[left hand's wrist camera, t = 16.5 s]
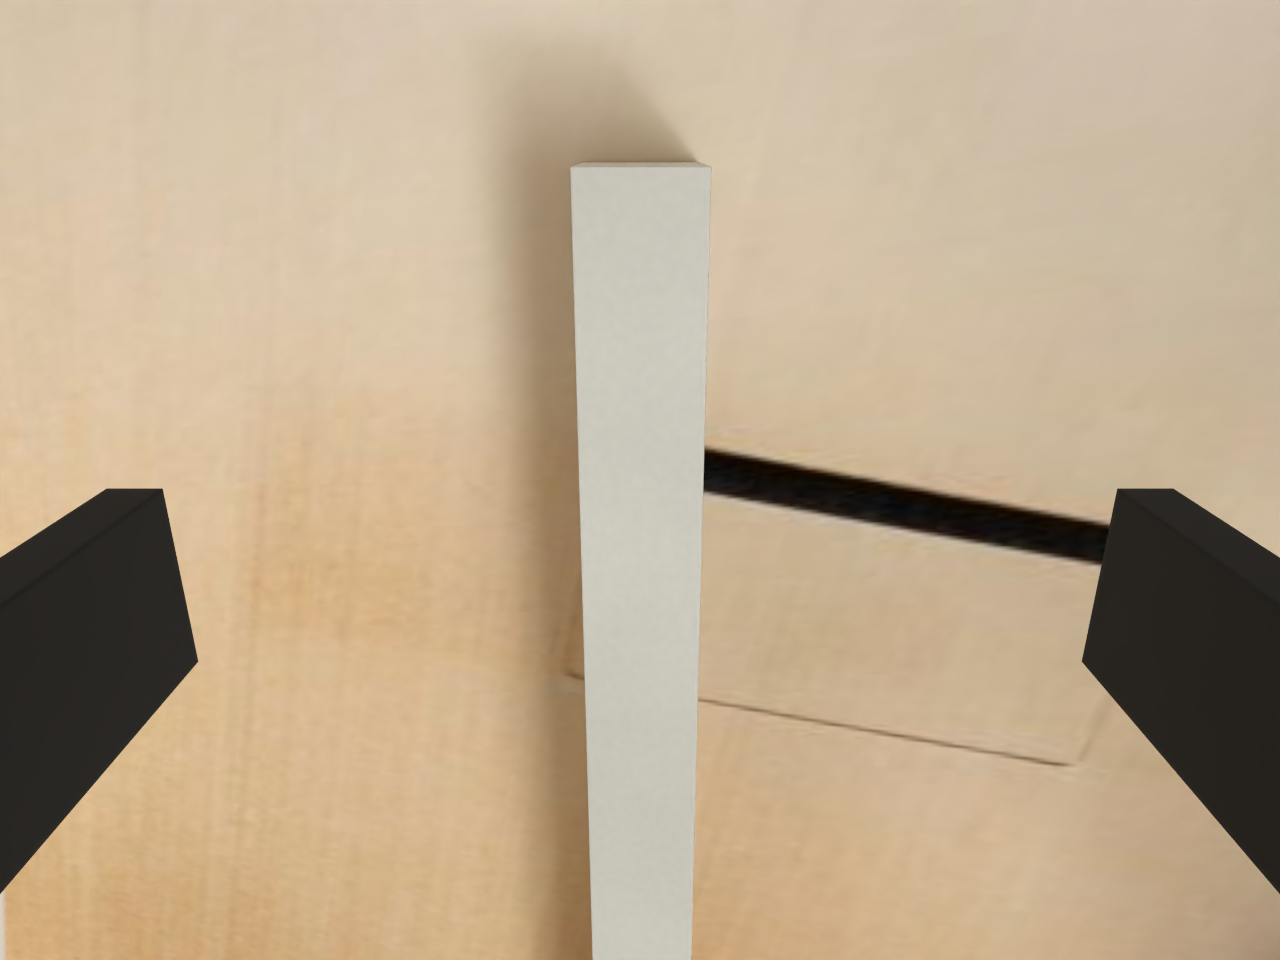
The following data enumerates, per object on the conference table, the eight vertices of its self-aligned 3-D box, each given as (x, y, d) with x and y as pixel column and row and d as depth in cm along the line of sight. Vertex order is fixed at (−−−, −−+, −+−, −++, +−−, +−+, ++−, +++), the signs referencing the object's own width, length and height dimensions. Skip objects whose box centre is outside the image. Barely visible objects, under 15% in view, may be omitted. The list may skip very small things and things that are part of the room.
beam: (580, 162, 42) (569, 166, 35) (699, 162, 42) (711, 166, 35) (607, 1256, 72) (604, 1375, 65) (676, 1255, 72) (680, 1375, 65)
